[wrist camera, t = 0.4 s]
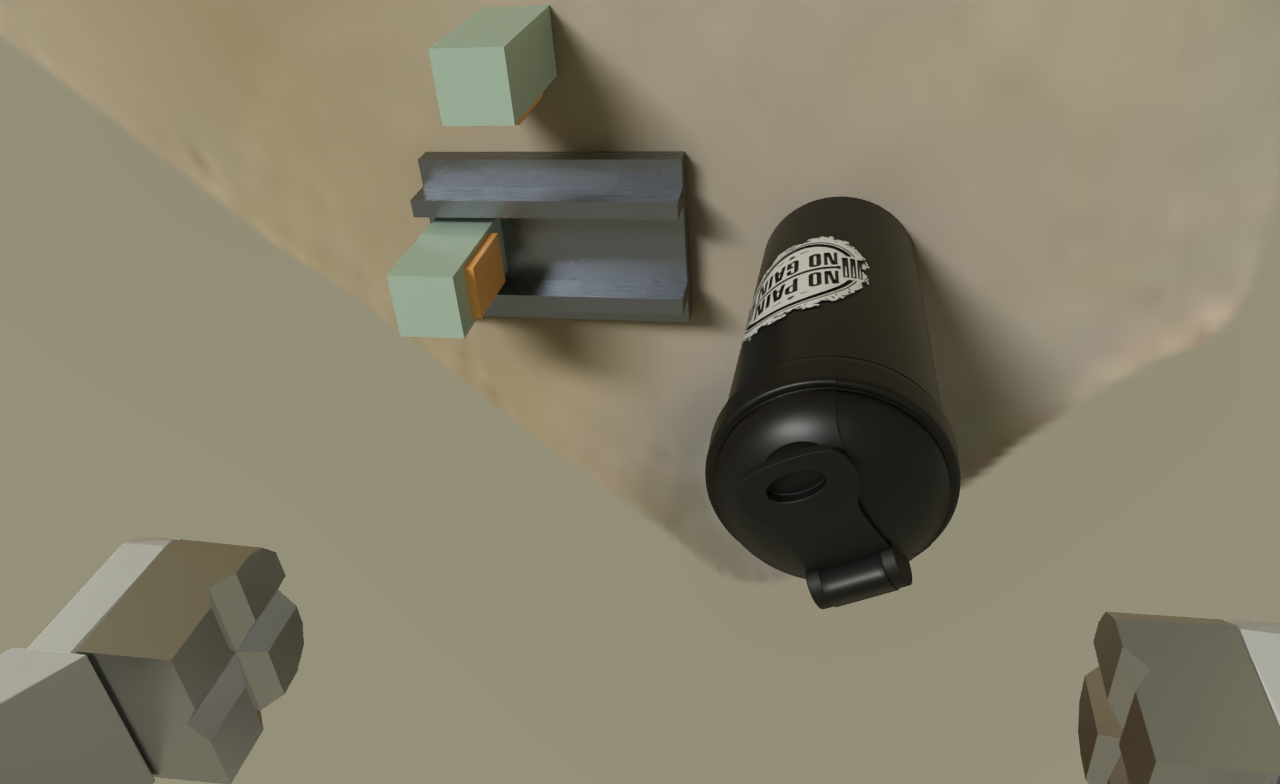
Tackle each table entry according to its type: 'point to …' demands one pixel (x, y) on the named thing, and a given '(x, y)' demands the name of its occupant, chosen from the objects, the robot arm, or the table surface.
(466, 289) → the green and orange block
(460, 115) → the pale green block
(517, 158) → the rail
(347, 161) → the table surface
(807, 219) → the water bottle
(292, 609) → the robot arm
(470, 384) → the table surface
